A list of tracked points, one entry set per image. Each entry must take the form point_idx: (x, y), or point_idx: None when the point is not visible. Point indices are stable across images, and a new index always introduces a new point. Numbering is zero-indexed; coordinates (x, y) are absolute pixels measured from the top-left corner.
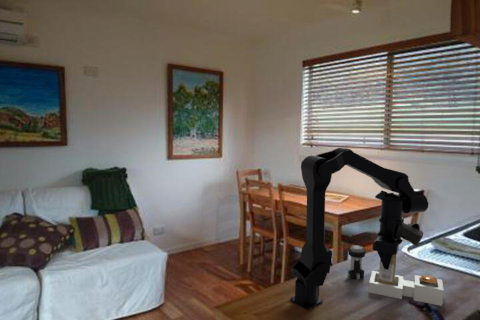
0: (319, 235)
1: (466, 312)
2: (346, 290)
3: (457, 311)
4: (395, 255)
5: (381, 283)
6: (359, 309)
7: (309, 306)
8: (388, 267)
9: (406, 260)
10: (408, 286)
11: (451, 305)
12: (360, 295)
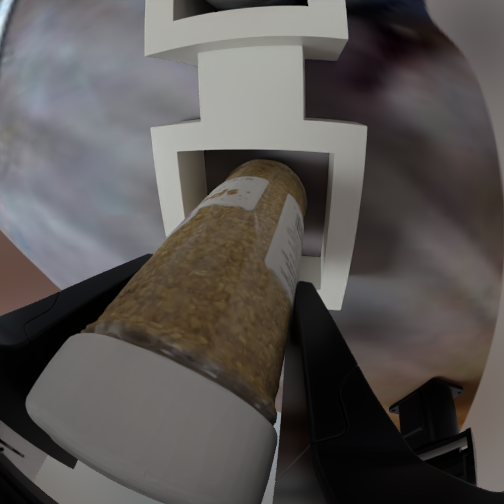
0: None
1: None
2: (346, 342)
3: None
4: (197, 340)
5: (332, 254)
6: (473, 298)
7: (458, 391)
8: (319, 297)
9: (3, 158)
10: (302, 82)
11: None
12: (376, 302)
